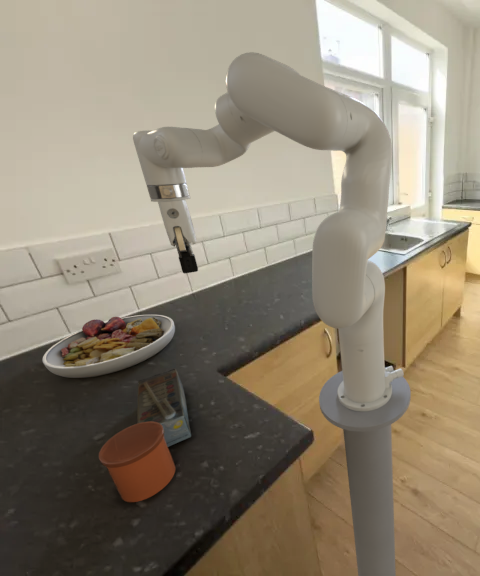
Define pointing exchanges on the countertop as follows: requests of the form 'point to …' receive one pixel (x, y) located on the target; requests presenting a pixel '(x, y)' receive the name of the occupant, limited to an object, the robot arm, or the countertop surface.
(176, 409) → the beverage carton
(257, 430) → the countertop surface
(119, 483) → the terracotta crock
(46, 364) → the food platter
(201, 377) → the countertop surface
